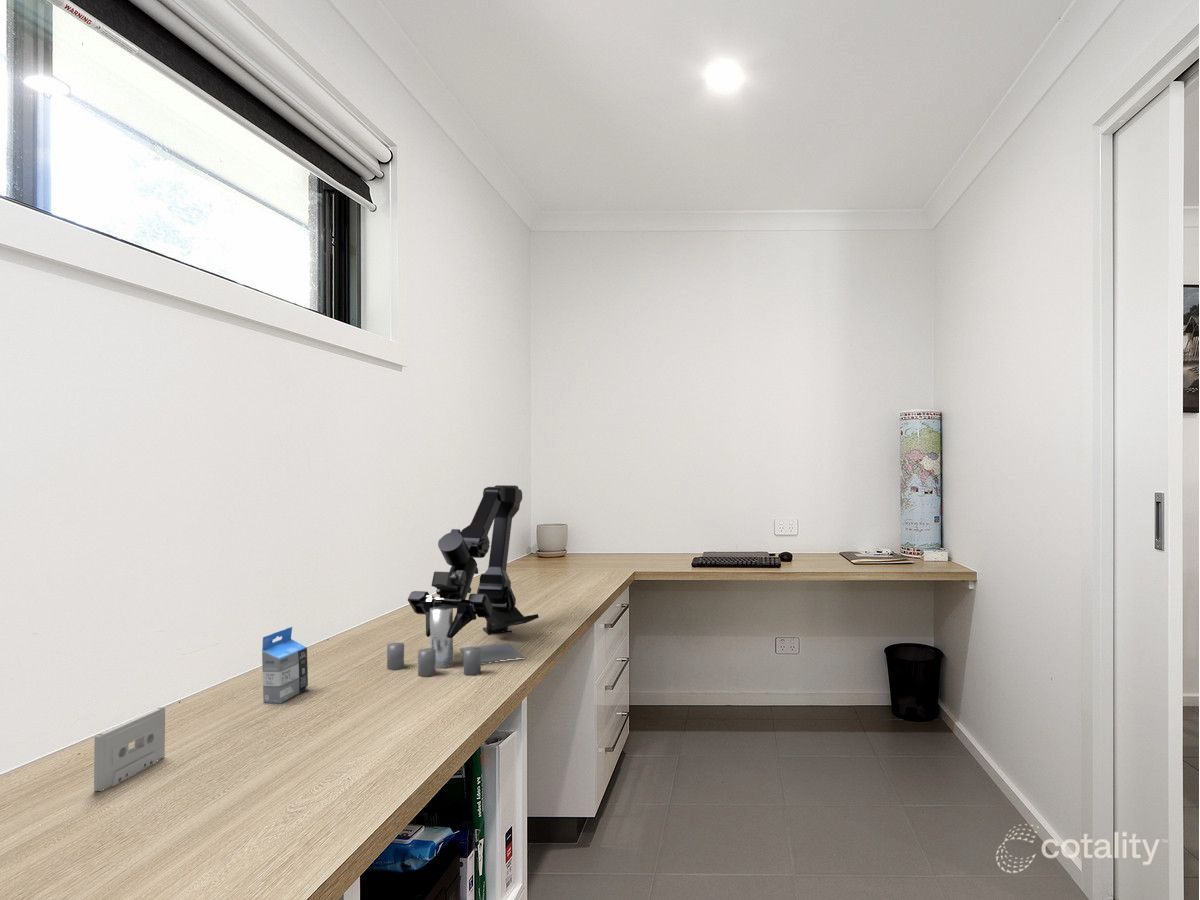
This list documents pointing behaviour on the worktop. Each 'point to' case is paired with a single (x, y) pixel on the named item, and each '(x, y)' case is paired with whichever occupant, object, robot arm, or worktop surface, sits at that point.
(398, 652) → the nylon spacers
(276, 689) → the label tape box
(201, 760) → the worktop surface
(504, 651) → the rubber mat
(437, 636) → the ball
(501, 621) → the handheld gaming console
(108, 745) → the cassette
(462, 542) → the robot arm
